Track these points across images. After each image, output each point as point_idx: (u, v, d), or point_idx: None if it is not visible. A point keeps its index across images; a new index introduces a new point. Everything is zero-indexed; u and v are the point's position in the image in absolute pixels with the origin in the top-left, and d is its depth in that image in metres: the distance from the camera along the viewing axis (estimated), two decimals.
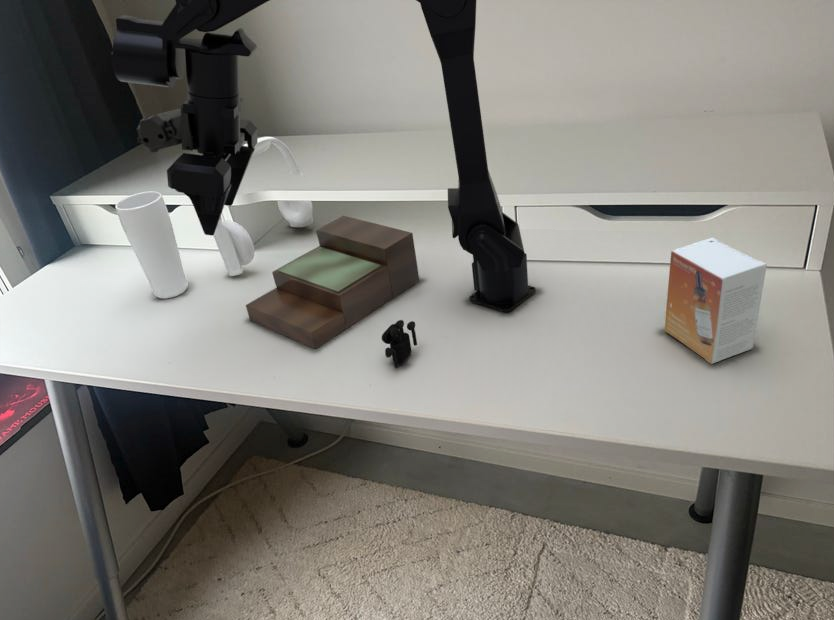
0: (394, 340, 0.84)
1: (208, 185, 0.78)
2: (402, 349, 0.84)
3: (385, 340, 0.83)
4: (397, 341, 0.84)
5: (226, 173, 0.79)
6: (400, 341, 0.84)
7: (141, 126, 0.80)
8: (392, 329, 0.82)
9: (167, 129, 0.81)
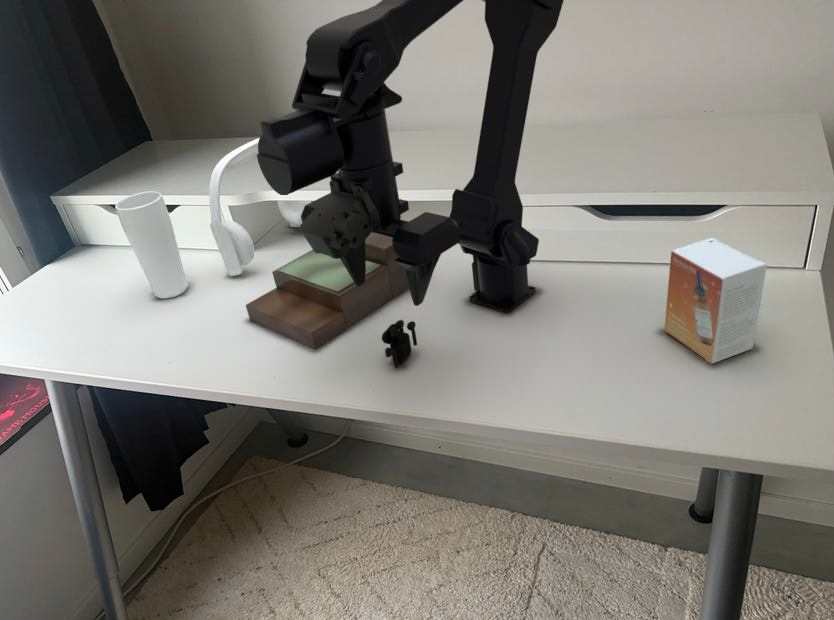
0: (394, 340, 0.84)
1: (452, 238, 0.72)
2: (402, 349, 0.84)
3: (385, 340, 0.83)
4: (397, 341, 0.84)
5: None
6: (400, 341, 0.84)
7: (349, 227, 0.68)
8: (392, 329, 0.82)
9: None
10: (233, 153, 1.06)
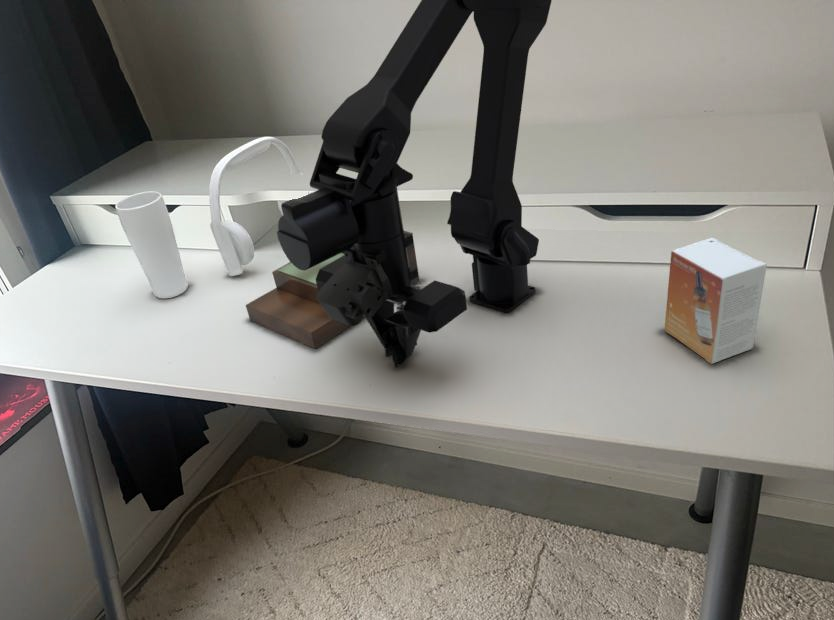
0: (394, 340, 0.84)
1: (460, 306, 0.76)
2: None
3: (385, 340, 0.83)
4: (397, 341, 0.84)
5: None
6: None
7: (363, 299, 0.72)
8: (392, 329, 0.82)
9: (376, 288, 0.74)
10: (233, 153, 1.06)
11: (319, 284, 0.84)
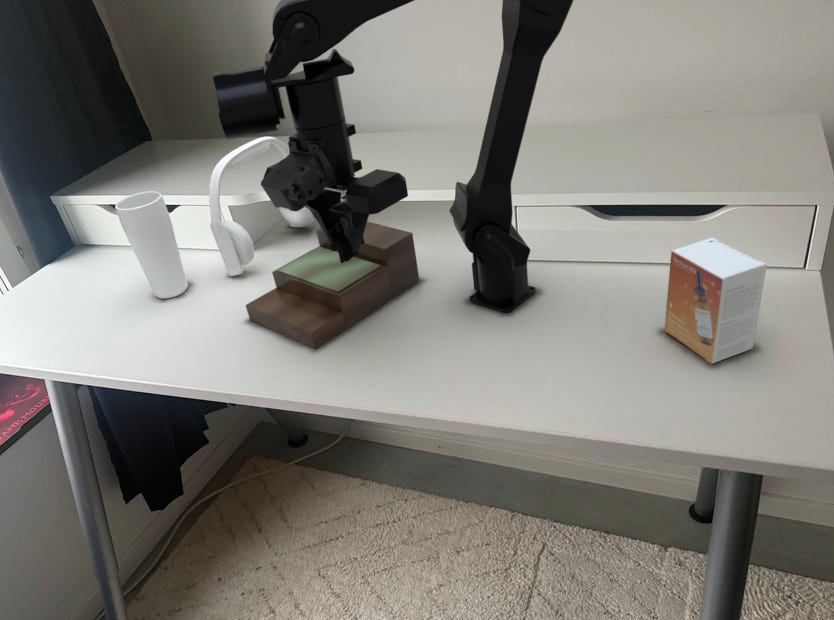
0: (340, 237, 0.87)
1: (401, 191, 0.79)
2: None
3: (331, 235, 0.86)
4: (343, 238, 0.86)
5: None
6: None
7: (305, 179, 0.75)
8: (337, 224, 0.85)
9: None
10: (233, 152, 1.06)
11: None
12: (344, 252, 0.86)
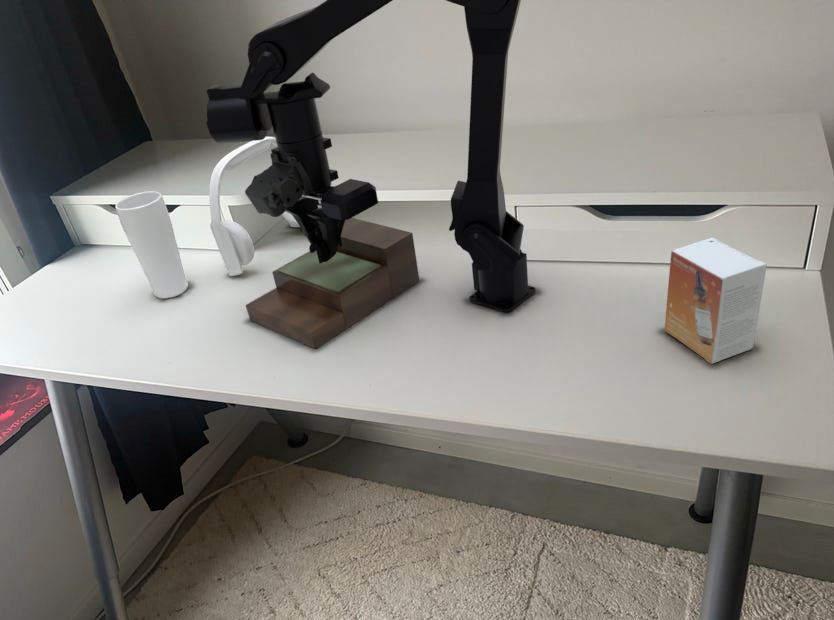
0: (320, 239, 0.95)
1: (371, 199, 0.87)
2: None
3: (311, 238, 0.94)
4: (322, 240, 0.95)
5: None
6: None
7: (283, 189, 0.83)
8: (316, 228, 0.93)
9: (295, 182, 0.85)
10: (233, 153, 1.06)
11: None
12: (323, 253, 0.95)
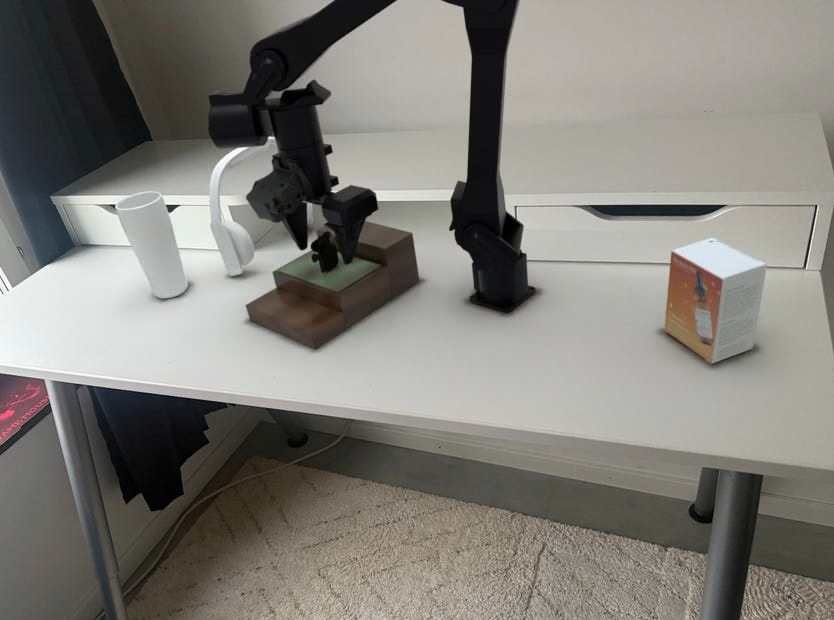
0: (322, 249, 0.96)
1: (371, 205, 0.87)
2: (328, 257, 0.95)
3: (313, 248, 0.95)
4: (324, 250, 0.96)
5: None
6: (326, 249, 0.95)
7: (284, 195, 0.84)
8: (318, 238, 0.94)
9: None
10: (233, 153, 1.06)
11: None
12: (325, 263, 0.96)
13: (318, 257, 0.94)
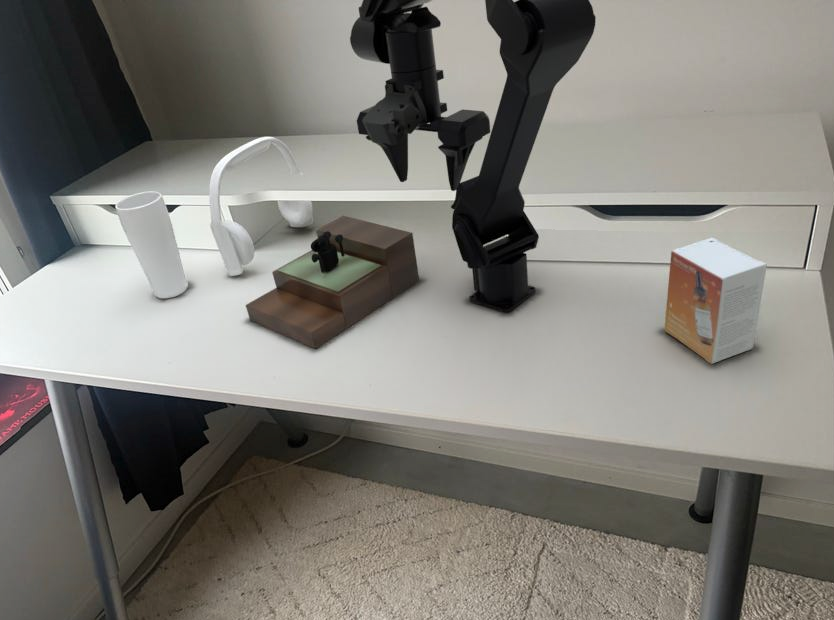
0: (322, 249, 0.96)
1: (485, 128, 0.90)
2: (328, 257, 0.95)
3: (313, 248, 0.95)
4: (324, 250, 0.96)
5: None
6: (326, 249, 0.95)
7: (405, 114, 0.86)
8: (318, 238, 0.94)
9: None
10: (233, 153, 1.06)
11: (360, 124, 0.97)
12: (325, 263, 0.96)
13: (318, 257, 0.94)
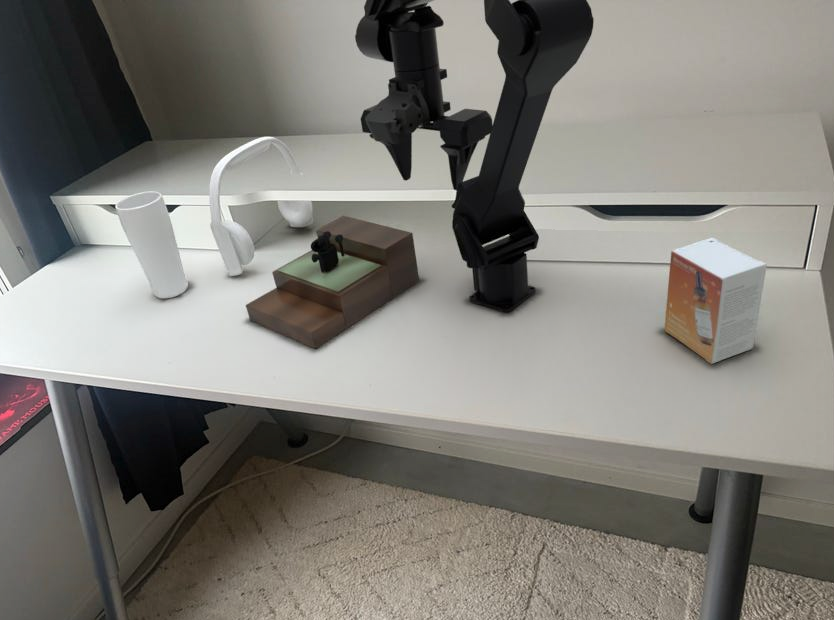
0: (322, 249, 0.96)
1: (487, 127, 0.90)
2: (328, 257, 0.95)
3: (313, 248, 0.95)
4: (324, 250, 0.96)
5: None
6: (326, 249, 0.95)
7: (407, 113, 0.86)
8: (318, 238, 0.94)
9: None
10: (233, 152, 1.06)
11: (363, 123, 0.98)
12: (325, 263, 0.96)
13: (318, 257, 0.94)
